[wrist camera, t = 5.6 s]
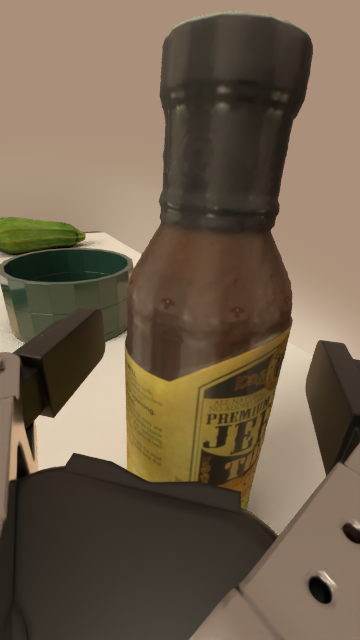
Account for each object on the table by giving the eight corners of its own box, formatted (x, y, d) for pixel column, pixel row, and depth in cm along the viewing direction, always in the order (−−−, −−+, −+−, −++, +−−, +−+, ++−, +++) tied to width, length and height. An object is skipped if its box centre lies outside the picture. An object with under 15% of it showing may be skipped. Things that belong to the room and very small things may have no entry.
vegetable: (-20, 210, 57) (79, 207, 69) (-16, 240, 61) (75, 233, 74) (-7, 233, 54) (93, 226, 66) (-4, 263, 59) (89, 251, 71)
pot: (130, 294, 44) (128, 247, 41) (139, 343, 32) (138, 281, 29) (27, 298, 41) (17, 248, 38) (-6, 354, 29) (-26, 286, 26)
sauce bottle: (203, 610, 13) (333, -106, 4) (104, 517, 16) (45, 12, 7) (261, 494, 17) (378, 57, 8) (176, 440, 20) (195, 82, 12)
